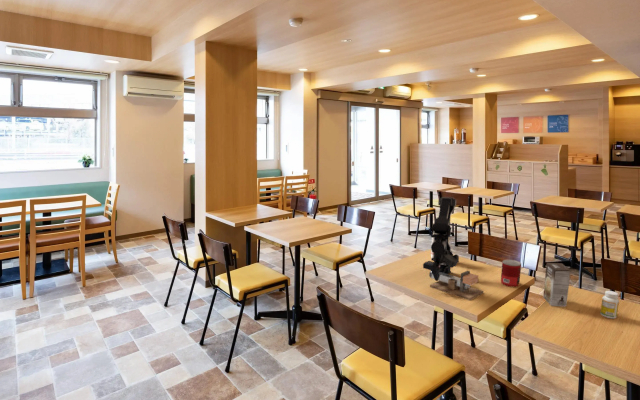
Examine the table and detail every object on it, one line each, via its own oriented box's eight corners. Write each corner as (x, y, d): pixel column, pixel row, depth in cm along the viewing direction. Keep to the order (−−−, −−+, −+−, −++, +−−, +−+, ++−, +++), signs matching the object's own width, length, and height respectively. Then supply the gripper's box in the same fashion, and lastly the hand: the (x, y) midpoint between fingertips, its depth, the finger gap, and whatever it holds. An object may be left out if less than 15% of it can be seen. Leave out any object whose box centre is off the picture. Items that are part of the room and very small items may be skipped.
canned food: (521, 287, 182) (523, 265, 180) (502, 286, 184) (504, 264, 182) (516, 281, 189) (518, 260, 188) (498, 280, 191) (500, 259, 189)
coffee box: (542, 297, 172) (545, 262, 169) (558, 298, 170) (561, 262, 168) (550, 306, 163) (554, 269, 160) (567, 307, 161) (571, 270, 159)
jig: (429, 286, 183) (430, 267, 181) (443, 280, 191) (444, 262, 189) (469, 300, 168) (471, 279, 166) (483, 293, 176) (484, 272, 174)
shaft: (429, 278, 188) (429, 270, 187) (433, 276, 190) (433, 269, 189) (465, 290, 173) (466, 282, 173) (470, 288, 176) (470, 280, 175)
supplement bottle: (608, 319, 151) (611, 295, 149) (596, 313, 156) (599, 290, 155) (620, 318, 152) (623, 294, 150) (608, 312, 157) (611, 289, 155)
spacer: (462, 282, 173) (463, 276, 173) (469, 279, 177) (470, 273, 176) (471, 285, 170) (471, 278, 170) (478, 282, 174) (478, 275, 173)
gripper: (444, 256, 171) (443, 289, 174) (466, 247, 184) (464, 279, 186) (423, 250, 180) (421, 282, 182) (444, 243, 192) (443, 273, 194)
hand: (438, 279), depth 186 cm, fingers closed on shaft, 3 cm apart
